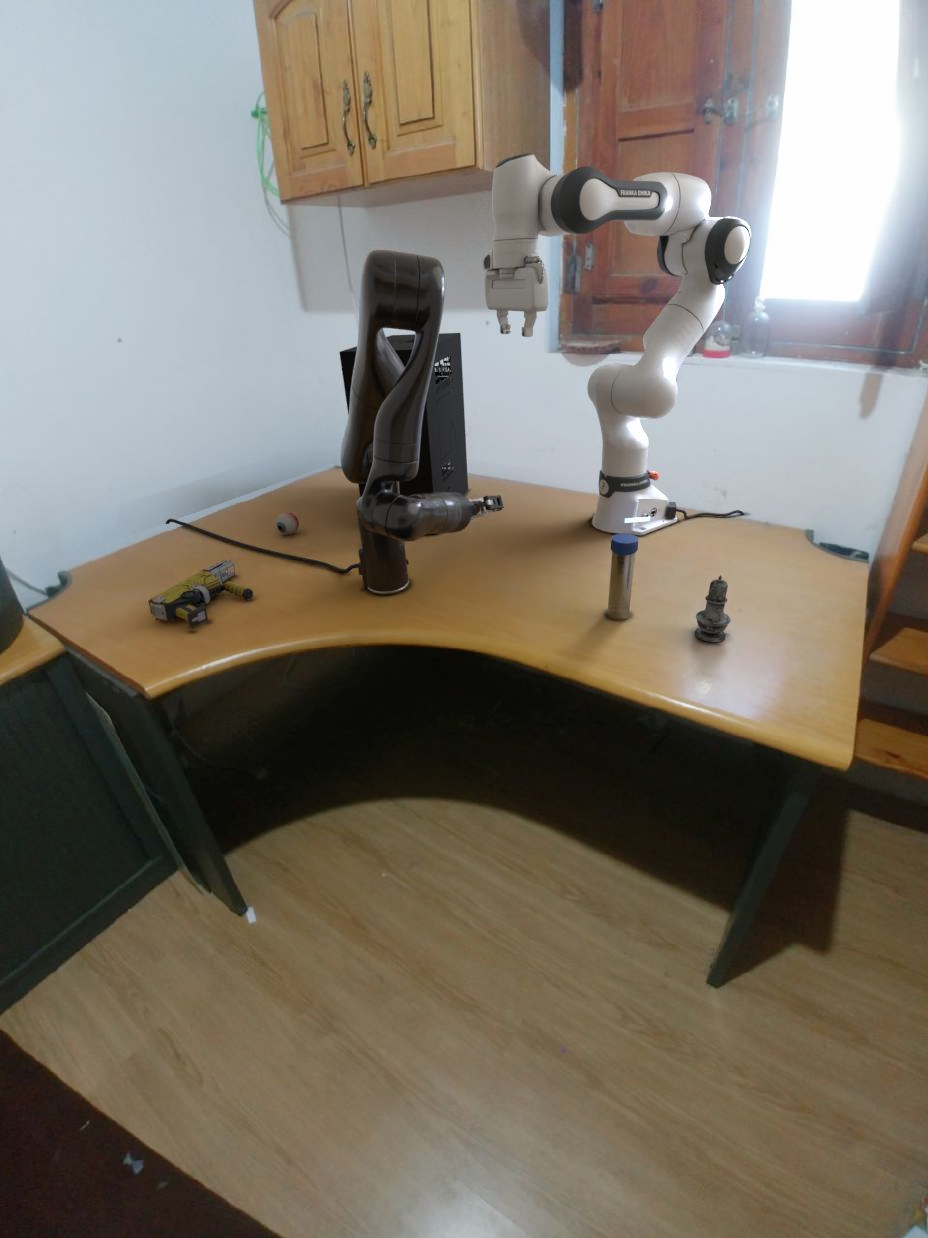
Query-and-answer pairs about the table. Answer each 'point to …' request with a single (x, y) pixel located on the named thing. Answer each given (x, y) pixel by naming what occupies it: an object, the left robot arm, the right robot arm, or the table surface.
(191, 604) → the toy gun
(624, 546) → the lid
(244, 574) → the table surface
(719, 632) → the grey stone tiered figure
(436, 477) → the cardboard box
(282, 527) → the eyeball
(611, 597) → the jar
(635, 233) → the right robot arm
